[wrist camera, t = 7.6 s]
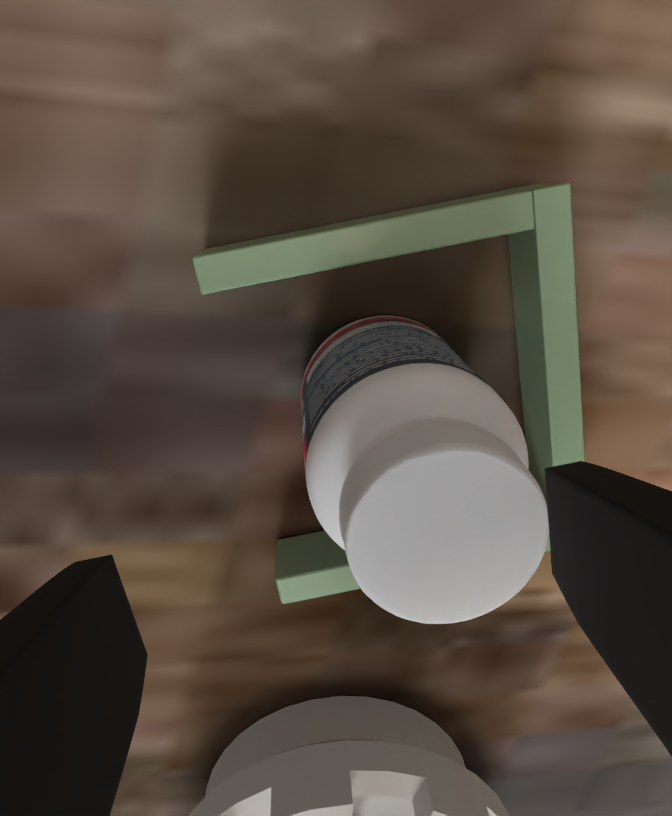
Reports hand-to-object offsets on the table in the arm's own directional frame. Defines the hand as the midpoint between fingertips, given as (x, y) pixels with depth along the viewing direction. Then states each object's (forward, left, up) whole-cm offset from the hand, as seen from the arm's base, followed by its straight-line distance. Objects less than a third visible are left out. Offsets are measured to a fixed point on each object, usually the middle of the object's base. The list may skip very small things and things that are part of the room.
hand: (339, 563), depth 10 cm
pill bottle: (+1, -2, -10) cm, 11 cm away
